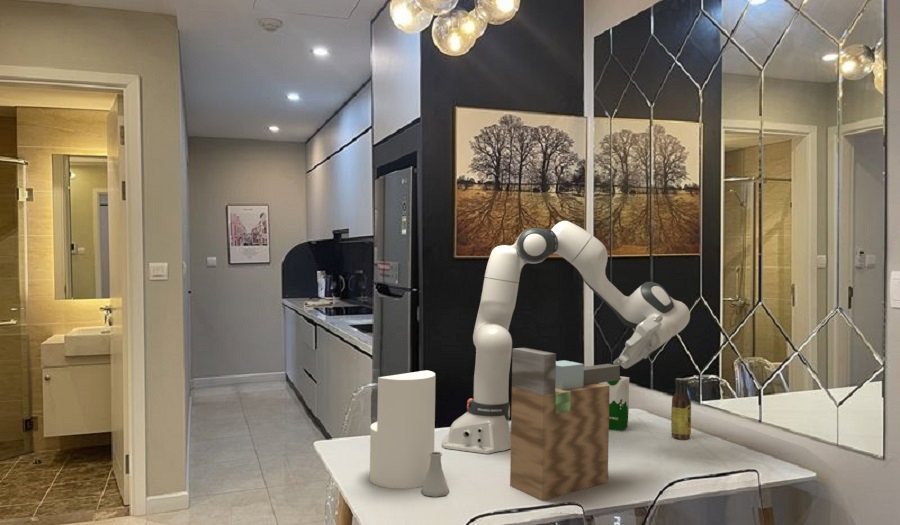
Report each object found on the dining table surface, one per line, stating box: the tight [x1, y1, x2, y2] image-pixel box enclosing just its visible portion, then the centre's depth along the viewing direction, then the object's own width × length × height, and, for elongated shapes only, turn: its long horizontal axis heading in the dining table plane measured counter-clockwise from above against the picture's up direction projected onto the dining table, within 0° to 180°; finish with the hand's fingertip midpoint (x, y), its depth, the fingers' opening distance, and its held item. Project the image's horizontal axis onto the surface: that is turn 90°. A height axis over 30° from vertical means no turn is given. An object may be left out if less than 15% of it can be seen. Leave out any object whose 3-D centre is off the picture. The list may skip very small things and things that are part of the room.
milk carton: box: [601, 372, 630, 432], centre depth 230 cm, size 9×9×20 cm
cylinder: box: [369, 370, 436, 490], centre depth 175 cm, size 17×17×28 cm
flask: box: [420, 450, 450, 498], centre depth 164 cm, size 7×7×10 cm
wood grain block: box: [509, 347, 610, 501], centre depth 171 cm, size 24×13×36 cm, turn 125°
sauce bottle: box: [670, 377, 692, 441], centre depth 219 cm, size 7×6×20 cm
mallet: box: [555, 359, 621, 390], centre depth 176 cm, size 24×7×6 cm, turn 125°
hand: (621, 354), depth 188 cm, fingers open, 8 cm apart
